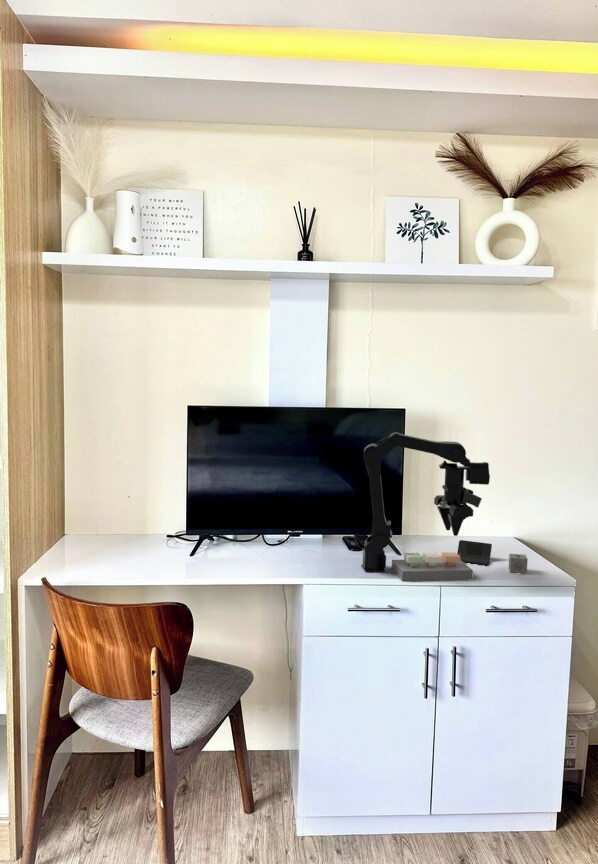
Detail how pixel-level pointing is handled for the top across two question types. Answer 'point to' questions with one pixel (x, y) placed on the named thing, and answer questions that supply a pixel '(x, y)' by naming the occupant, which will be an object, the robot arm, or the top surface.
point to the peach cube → (450, 558)
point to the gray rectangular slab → (431, 571)
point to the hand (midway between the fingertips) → (451, 532)
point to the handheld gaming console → (474, 552)
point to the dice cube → (518, 563)
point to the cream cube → (432, 558)
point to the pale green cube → (413, 559)
